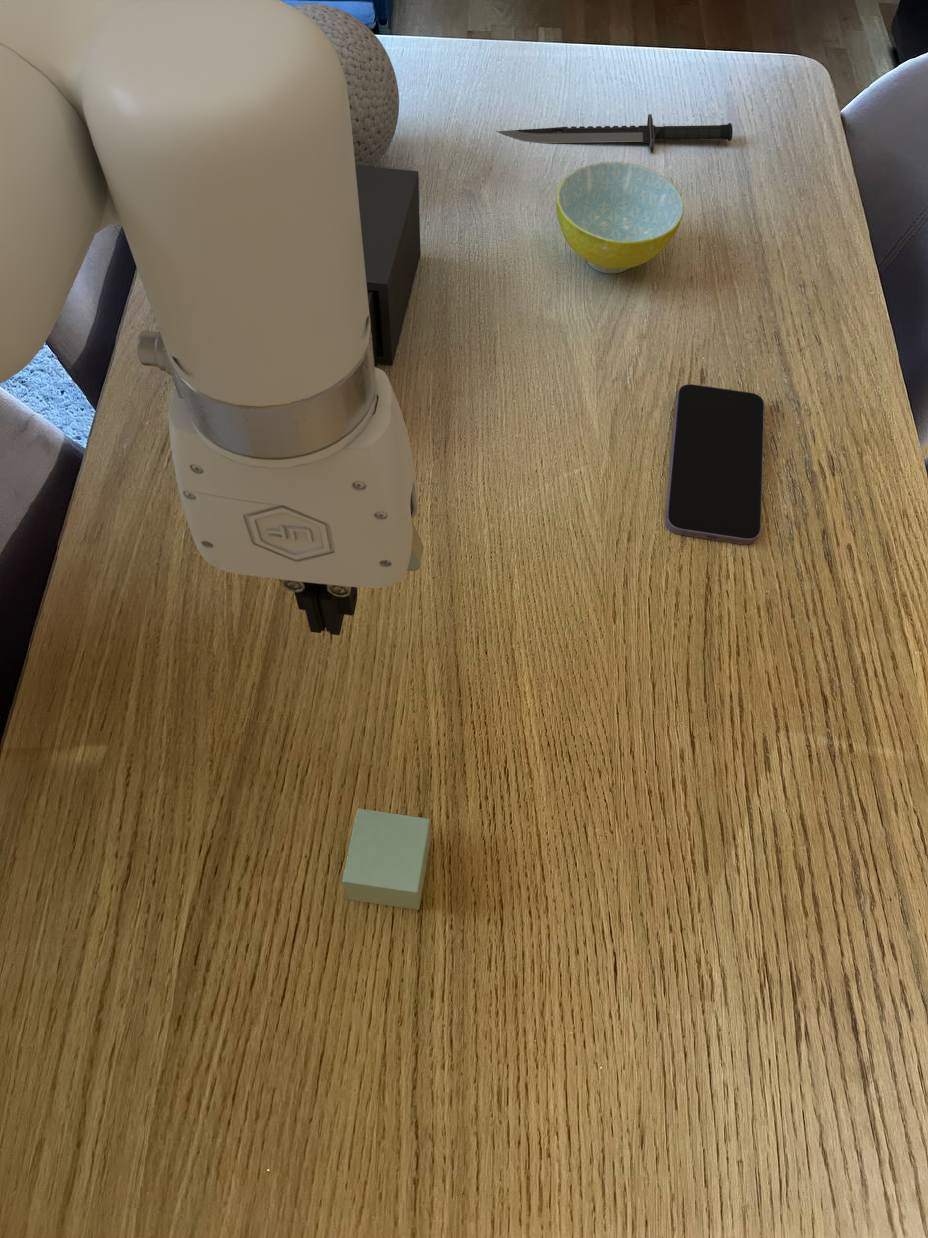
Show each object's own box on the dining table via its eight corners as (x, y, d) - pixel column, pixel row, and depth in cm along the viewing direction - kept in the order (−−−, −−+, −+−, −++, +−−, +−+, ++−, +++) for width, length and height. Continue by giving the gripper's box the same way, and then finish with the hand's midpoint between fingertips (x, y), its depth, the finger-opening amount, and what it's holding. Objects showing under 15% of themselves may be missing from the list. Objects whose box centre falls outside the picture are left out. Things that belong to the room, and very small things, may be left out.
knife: (494, 143, 94) (494, 111, 96) (494, 159, 96) (494, 127, 98) (735, 140, 93) (730, 107, 95) (731, 155, 95) (726, 123, 97)
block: (348, 900, 56) (341, 881, 52) (362, 830, 58) (357, 807, 54) (419, 910, 55) (417, 893, 52) (430, 840, 58) (430, 818, 54)
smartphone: (665, 527, 70) (678, 381, 77) (662, 535, 70) (675, 390, 78) (761, 541, 69) (765, 394, 76) (757, 549, 70) (761, 403, 77)
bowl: (672, 227, 89) (687, 168, 83) (665, 307, 83) (680, 249, 78) (557, 212, 89) (564, 152, 84) (542, 290, 84) (549, 231, 78)
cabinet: (392, 365, 78) (387, 283, 71) (250, 348, 79) (230, 265, 72) (420, 255, 86) (418, 170, 78) (289, 240, 86) (275, 155, 79)
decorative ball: (222, 189, 90) (185, 28, 77) (307, 114, 97) (287, -46, 84) (350, 240, 87) (334, 80, 74) (429, 158, 93) (427, -2, 80)
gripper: (57, 423, 34) (182, 655, 50) (456, 463, 33) (454, 686, 49) (120, 287, 38) (217, 543, 53) (479, 321, 37) (470, 570, 53)
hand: (330, 611), depth 51 cm, fingers closed
